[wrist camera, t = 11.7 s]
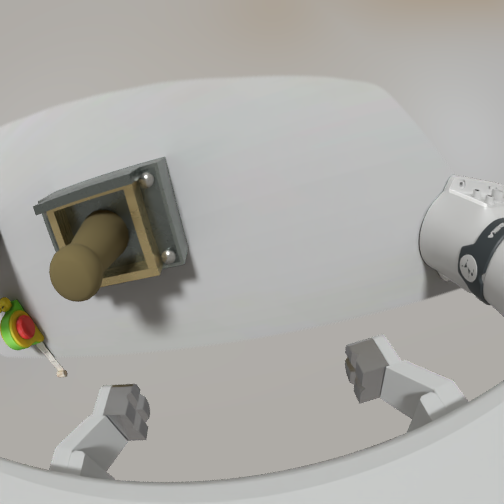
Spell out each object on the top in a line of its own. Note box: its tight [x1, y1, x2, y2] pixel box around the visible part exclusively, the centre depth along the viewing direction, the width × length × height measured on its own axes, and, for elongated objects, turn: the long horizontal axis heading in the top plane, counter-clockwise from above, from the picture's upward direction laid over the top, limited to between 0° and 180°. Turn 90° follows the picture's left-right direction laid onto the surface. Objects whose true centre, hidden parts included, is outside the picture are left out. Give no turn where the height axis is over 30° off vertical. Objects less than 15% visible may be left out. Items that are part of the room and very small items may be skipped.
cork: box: [49, 210, 129, 302], centre depth 27 cm, size 6×6×11 cm
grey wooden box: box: [33, 157, 188, 287], centre depth 32 cm, size 16×12×9 cm
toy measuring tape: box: [0, 297, 67, 377], centre depth 40 cm, size 6×19×7 cm, turn 16°
